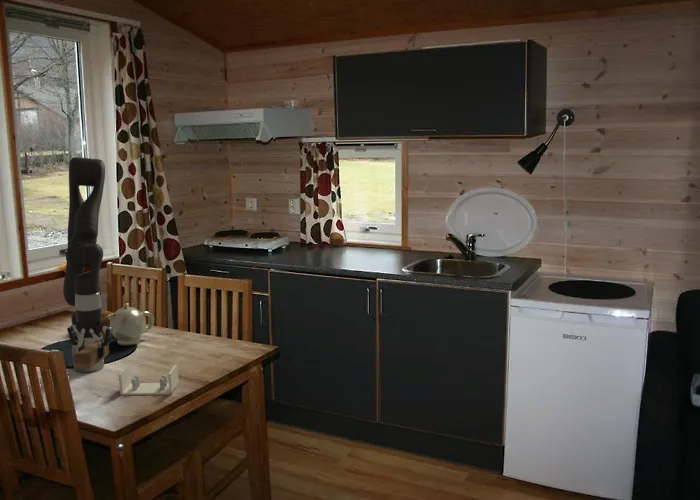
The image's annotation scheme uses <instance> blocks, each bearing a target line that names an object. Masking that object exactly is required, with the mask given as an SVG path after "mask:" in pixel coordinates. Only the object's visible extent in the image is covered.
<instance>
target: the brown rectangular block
mask: <svg viewBox="0 0 700 500" xmlns="http://www.w3.org/2000/svg"><path fill="white" fill-rule="evenodd" d="M109 354H110V343H109V344H108V345H107V346H105V355H104V356H103V358H101V359H99V358H98V345H97V343H96V342H95V341H93V342H92V343H91V344H89V345H88V346H87V347H85V348H84V349H83V350H81V351H80V352H78V353H77V354H76V355H74V364H75V368H88V369H91V368H92V367H93V366H94V365H96V364H97V363H98V362H99V361H101V360H102V359H105V358H106V357H107V356H108V355H109ZM74 364H73V365H74Z"/></svg>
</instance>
